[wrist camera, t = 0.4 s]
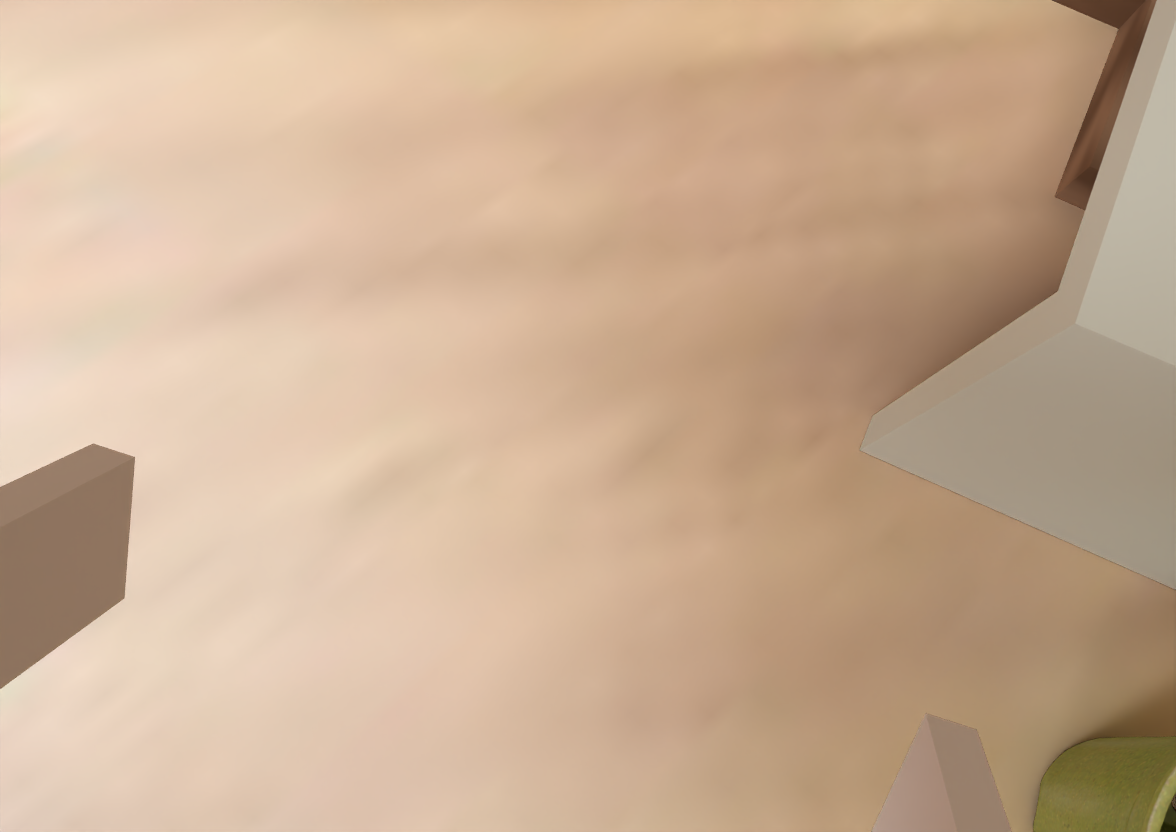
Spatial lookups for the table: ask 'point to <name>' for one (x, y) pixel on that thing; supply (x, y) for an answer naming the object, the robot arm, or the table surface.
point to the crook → (1104, 91)
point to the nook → (1078, 363)
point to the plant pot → (1110, 787)
